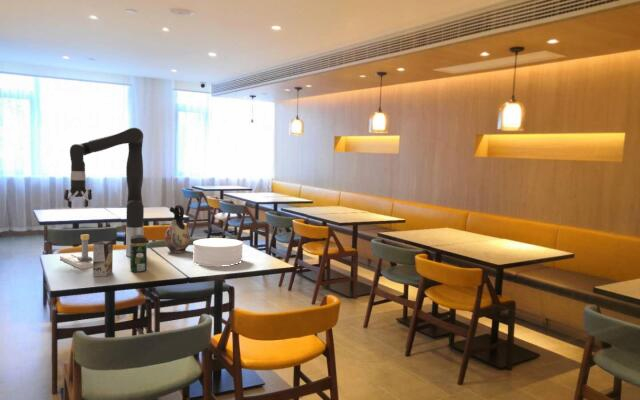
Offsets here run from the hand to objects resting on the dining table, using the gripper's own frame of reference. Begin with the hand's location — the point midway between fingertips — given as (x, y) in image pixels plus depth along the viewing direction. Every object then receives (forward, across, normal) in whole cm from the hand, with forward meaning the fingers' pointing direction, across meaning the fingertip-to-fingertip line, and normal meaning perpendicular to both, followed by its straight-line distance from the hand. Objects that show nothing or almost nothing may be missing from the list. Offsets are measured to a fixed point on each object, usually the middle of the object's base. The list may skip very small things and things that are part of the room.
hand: (78, 207), depth 271 cm
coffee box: (+28, -7, -50) cm, 57 cm away
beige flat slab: (+28, -6, -18) cm, 34 cm away
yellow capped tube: (+26, -6, -24) cm, 35 cm away
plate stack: (+28, +55, -59) cm, 85 cm away
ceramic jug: (+28, +51, -23) cm, 62 cm away
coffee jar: (+28, +10, -52) cm, 60 cm away
